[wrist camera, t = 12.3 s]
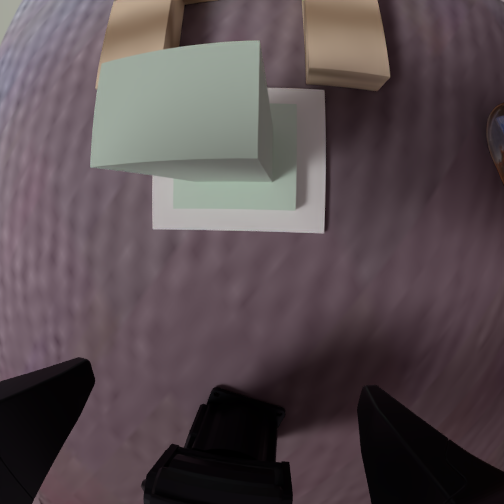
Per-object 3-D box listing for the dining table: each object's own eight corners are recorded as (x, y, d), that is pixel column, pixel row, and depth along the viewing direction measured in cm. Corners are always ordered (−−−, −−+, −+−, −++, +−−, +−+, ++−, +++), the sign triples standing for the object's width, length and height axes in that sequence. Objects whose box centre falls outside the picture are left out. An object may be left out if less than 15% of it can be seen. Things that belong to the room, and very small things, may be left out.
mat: (323, 232, 20) (323, 233, 20) (155, 228, 21) (152, 229, 21) (323, 91, 18) (324, 89, 18) (158, 97, 20) (156, 95, 19)
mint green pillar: (294, 210, 20) (315, 229, 8) (178, 207, 21) (56, 225, 8) (296, 108, 19) (311, -2, 6) (181, 111, 19) (76, 33, 7)
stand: (377, 91, 18) (390, 77, 15) (115, 98, 20) (95, 88, 17) (362, -11, 16) (369, -31, 13) (132, 1, 18) (118, -15, 15)
